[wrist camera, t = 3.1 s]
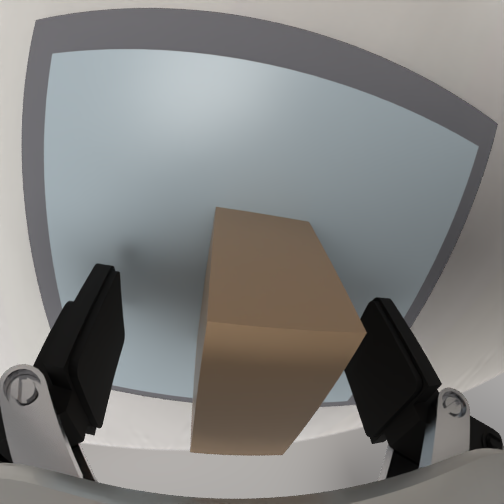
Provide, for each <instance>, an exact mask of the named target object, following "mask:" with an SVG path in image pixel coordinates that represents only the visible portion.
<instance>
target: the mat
mask: <svg viewBox="0 0 504 504" xmlns="http://www.w3.org/2000/svg"><path fill="white" fill-rule="evenodd" d="M105 49H148V50H168V51H182V52H192V53H202V54H210V55H217V56H224V57H231V58H237V59H243V60H249V61H254V62H259V63H264V64H269V65H273V66H278V67H282V68H286V69H290V70H294V71H298V72H302V73H306V74H309V75H313V76H317V77H320V78H323V79H327V80H330V81H333V82H336V83H339V84H343V85H346V86H349V87H351V88H354V89H357V90H360V91H363V92H366V93H368V94H371V95H374V96H376V97H379V98H381V99H384V100H386V101H389V102H391V103H394V104H396V105H398V106H401V107H403V108H405V109H407V110H410V111H412V112H414V113H416V114H418V115H421V116H423V117H425V118H427V119H429V120H431V121H433V122H435V123H437V124H439V125H441V126H443V127H445V128H447V129H449V130H450V131H452V132H454V133H456V134H458V135H460V136H461V137H463V138H465V139H467V140H469V141H470V142H472V143H474V144H475V145H477V146H479V147H478V151H477V154H476V157H475V160H474V164H473V167H472V170H471V173H470V176H469V179H468V182H467V185H466V187H465V190H464V193H463V196H462V198H461V201H460V203H459V206H458V209H457V211H456V214H455V216H454V219H453V221H452V223H451V226H450V228H449V230H448V233H447V235H446V237H445V239H444V242H443V244H442V246H441V248H440V250H439V253H438V255H437V257H436V259H435V261H434V263H433V265H432V267H431V269H430V271H429V273H428V275H427V277H426V279H425V281H424V283H423V285H422V286H421V288H420V290H419V292H418V294H417V296H416V298H415V299H414V301H413V303H412V305H411V306H410V308H409V310H408V312H407V313H406V315H405V317H404V320H405V321H406V323H407V325H408V326H409V328H410V327H411V326H412V324H413V323H414V321H415V319H416V318H417V316H418V314H419V313H420V311H421V309H422V308H423V306H424V304H425V302H426V301H427V299H428V297H429V295H430V294H431V292H432V290H433V288H434V286H435V285H436V283H437V281H438V279H439V277H440V275H441V273H442V271H443V269H444V267H445V265H446V263H447V261H448V259H449V257H450V255H451V253H452V251H453V249H454V247H455V244H456V242H457V240H458V238H459V236H460V233H461V231H462V229H463V226H464V224H465V222H466V219H467V217H468V214H469V212H470V209H471V207H472V204H473V202H474V199H475V196H476V194H477V191H478V188H479V185H480V183H481V180H482V177H483V174H484V171H485V168H486V164H487V161H488V158H489V155H490V151H491V148H492V144H493V141H494V137H495V133H496V129H497V125H498V124H497V123H496V122H495V121H493V120H492V119H490V118H489V117H488V116H486V115H485V114H483V113H482V112H481V111H479V110H478V109H476V108H475V107H473V106H472V105H470V104H469V103H467V102H466V101H464V100H462V99H461V98H459V97H458V96H456V95H454V94H453V93H451V92H449V91H448V90H446V89H444V88H443V87H441V86H439V85H437V84H436V83H434V82H432V81H430V80H428V79H426V78H424V77H423V76H421V75H419V74H417V73H415V72H413V71H411V70H409V69H407V68H405V67H403V66H401V65H398V64H396V63H394V62H392V61H390V60H387V59H385V58H383V57H381V56H378V55H376V54H373V53H371V52H369V51H366V50H364V49H361V48H358V47H356V46H353V45H350V44H348V43H345V42H342V41H339V40H336V39H333V38H330V37H327V36H324V35H321V34H317V33H314V32H311V31H307V30H303V29H300V28H296V27H292V26H288V25H284V24H280V23H275V22H271V21H266V20H261V19H256V18H251V17H245V16H239V15H233V14H226V13H218V12H209V11H199V10H187V9H168V8H129V9H110V10H98V11H88V12H80V13H73V14H66V15H60V16H54V17H49V18H44V19H39V20H36V22H35V27H34V31H33V36H32V41H31V46H30V52H29V58H28V64H27V71H26V79H25V88H24V99H23V115H22V174H23V190H24V201H25V211H26V219H27V227H28V234H29V240H30V246H31V252H32V257H33V262H34V267H35V272H36V276H37V281H38V285H39V289H40V293H41V297H42V301H43V305H44V308H45V312H46V316H47V319H48V322H49V326H50V329H52V327H53V325H54V323H55V322H56V320H57V318H58V316H59V314H60V312H61V311H62V305H61V301H60V296H59V292H58V287H57V282H56V277H55V271H54V266H53V260H52V253H51V246H50V239H49V231H48V222H47V212H46V199H45V181H44V128H45V111H46V98H47V88H48V80H49V72H50V65H51V59H52V54H54V53H62V52H73V51H86V50H105ZM111 390H115V391H120V392H125V393H131V394H136V395H142V396H148V397H154V398H160V399H167V400H174V401H182V402H191V403H193V398H188V397H180V396H172V395H165V394H158V393H152V392H146V391H140V390H134V389H129V388H124V387H119V386H114V385H112V388H111ZM355 404H356V403H355V400H354V397H353V394H352V396H351V397H350V398H349V400H348V401H341V402H322V404H321V405H320V407H327V406H343V405H355Z"/></svg>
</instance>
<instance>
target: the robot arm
mask: <svg viewBox="0 0 504 504" xmlns="http://www.w3.org/2000/svg"><path fill="white" fill-rule="evenodd" d="M360 320H361V322H362V324H363V326H364V328H365V330H366V332H367V333H366V335H365V337H364V338H363V340H362V342H361V344H360V345H359V347H358V349H357V350H356V352H355V354H354V355H353V357H352V358H351V360H350V362H349V363H348V365H347V366H346V368H345V370H344V371H345V374H346V377H347V380H348V383H349V386H350V388H351V391H352V394H353V397H354V400H355V403H356V406H357V409H358V412H359V415H360V418H361V421H362V424H363V427H364V430H365V433H366V435H367V436H368V437H370V439H371V442H372V444H375V443H380V442H384V441H386V440H387V441H388V448H387V451H386V455H385V458H384V462H383V465H382V469H381V472H380V475H379V478H378V481H376V482H372V483H368V484H364V485H359V486H354V487H350V488H345V489H339V490H333V491H328V492H321V493H315V494H307V495H298V496H288V497H275V498H256V499H214V498H195V497H183V496H173V495H165V494H157V493H150V492H144V491H137V490H132V489H126V488H121V487H116V486H111V485H107V484H102V483H98V482H97V480H96V478H95V476H94V473H93V471H92V469H91V467H90V465H89V463H88V460H87V459H86V456H85V454H84V451H83V449H82V447H81V444H80V443H81V442H83V441H84V438H85V434H86V433H87V434H90V435H95V431H96V427H97V428H101V427H102V425H103V421H104V416H105V412H106V408H107V403H108V399H109V395H110V391H111V388H112V384H113V380H114V376H115V373H116V369H117V365H118V362H119V358H120V355H121V351H122V348H123V345H124V340H125V329H124V319H123V308H122V295H121V279H120V272H119V271H115V268H114V266H112V265H105V264H99V263H97V264H95V266H94V267H93V269H92V271H91V272H90V274H89V276H88V277H87V279H86V281H85V283H84V284H83V286H82V288H81V289H80V291H79V293H78V295H77V297H76V298H75V300H74V301H68V302H67V303H66V304H65V305H64V307H63V309H62V311H61V312H60V314H59V316H58V318H57V320H56V322H55V323H54V325H53V327H52V329H51V331H50V333H49V335H48V337H47V339H46V341H45V343H44V345H43V347H42V349H41V351H40V353H39V355H38V357H37V359H36V361H35V363H34V365H33V366H31V365H27V364H21V365H16V366H13V367H11V368H9V369H8V370H7V371H5V373H4V374H3V375H2V377H1V378H0V504H504V446H503V443H502V439H501V436H500V435H499V433H498V432H496V431H495V430H494V429H492V428H490V427H489V426H487V425H485V424H484V423H482V422H480V421H478V420H476V419H475V418H473V417H471V416H470V409H469V404H468V402H467V400H466V398H465V397H464V396H463V394H461V393H460V392H459V391H457V390H456V389H453V388H445V389H443V390H441V391H440V392H438V390H437V389H438V388H439V387H440V386H441V384H442V383H441V381H440V380H439V378H438V376H437V374H436V372H435V371H434V369H433V367H432V365H431V363H430V362H429V360H428V358H427V356H426V355H425V353H424V351H423V350H422V348H421V346H420V344H419V343H418V341H417V339H416V338H415V336H414V334H413V333H412V331H411V330H410V328H409V326H408V325H407V323H406V321H405V320H404V318H403V317H402V315H401V313H400V312H399V310H398V309H397V307H396V306H395V304H394V302H393V301H392V300H391V299H390V298H380V297H376V298H374V299H373V300H372V301H370V302H369V303H368V305H367V307H366V308H365V310H364V312H363V314H362V316H361V318H360Z"/></svg>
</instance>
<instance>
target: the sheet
mask: <svg viewBox="0 0 504 504" xmlns="http://www.w3.org/2000/svg"><path fill="white" fill-rule="evenodd" d="M478 147H479V146H477V145H475V144H474V143H472V142H470V141H469V140H467V139H465V138H463V137H461V136H460V135H458V134H456V133H454V132H452V131H450V130H449V129H447V128H445V127H443V126H441V125H439V124H437V123H435V122H433V121H431V120H429V119H427V118H425V117H423V116H421V115H418V114H416V113H414V112H412V111H410V110H407V109H405V108H403V107H401V106H398V105H396V104H394V103H391V102H389V101H386V100H384V99H381V98H379V97H376V96H374V95H371V94H368V93H366V92H363V91H360V90H357V89H354V88H351V87H349V86H346V85H343V84H339V83H336V82H333V81H330V80H327V79H323V78H320V77H317V76H313V75H309V74H306V73H302V72H298V71H294V70H290V69H286V68H282V67H278V66H273V65H269V64H264V63H259V62H254V61H249V60H243V59H237V58H231V57H224V56H217V55H210V54H202V53H192V52H182V51H168V50H148V49H105V50H86V51H73V52H62V53H54V54H52V59H51V65H50V72H49V80H48V88H47V98H46V111H45V128H44V181H45V199H46V212H47V222H48V231H49V239H50V246H51V253H52V260H53V266H54V271H55V277H56V282H57V287H58V292H59V296H60V301H61V305H62V309H63V307H64V305H65V304H66V303H67V302H68V301H74V300H75V298H76V297H77V295H78V293H79V291H80V289H81V288H82V286H83V284H84V283H85V281H86V279H87V277H88V276H89V274H90V272H91V271H92V269H93V267H94V266H95V264H97V263H99V264H105V265H112V266H114V268H115V271H119V272H120V279H121V295H122V308H123V319H124V329H125V340H124V345H123V348H122V351H121V355H120V358H119V362H118V365H117V369H116V373H115V376H114V380H113V384H112V385H114V386H119V387H124V388H129V389H134V390H140V391H146V392H152V393H158V394H165V395H172V396H180V397H188V398H193V404H192V423H191V447H190V452H194V453H204V454H220V455H283V454H284V453H285V451H286V450H287V449H288V448H289V446H290V445H291V444H292V443H293V441H294V440H295V439H296V438H297V436H298V435H299V434H300V432H301V431H302V430H303V428H304V427H305V426H306V424H307V423H308V422H309V420H310V419H311V418H312V416H313V415H314V414H315V412H316V411H317V409H318V408H319V407H320V405H321V404H322V402H341V401H348V400H349V398H350V397H351V396H352V391H351V388H350V386H349V383H348V380H347V377H346V374H345V371H344V370H345V368H346V366H347V365H348V363H349V362H350V360H351V358H352V357H353V355H354V354H355V352H356V350H357V349H358V347H359V345H360V344H361V342H362V340H363V338H364V337H365V335H366V333H367V332H366V330H365V328H364V326H363V324H362V322H361V320H360V318H361V316H362V314H363V312H364V310H365V308H366V307H367V305H368V303H369V302H370V301H372V300H373V299H374V298H376V297H380V298H390V299H391V300H392V301H393V302H394V304H395V306H396V307H397V309H398V310H399V312H400V313H401V315H402V317H403V318H404V317H405V315H406V313H407V312H408V310H409V308H410V306H411V305H412V303H413V301H414V299H415V298H416V296H417V294H418V292H419V290H420V288H421V286H422V285H423V283H424V281H425V279H426V277H427V275H428V273H429V271H430V269H431V267H432V265H433V263H434V261H435V259H436V257H437V255H438V253H439V250H440V248H441V246H442V244H443V242H444V239H445V237H446V235H447V233H448V230H449V228H450V226H451V223H452V221H453V219H454V216H455V214H456V211H457V209H458V206H459V203H460V201H461V198H462V196H463V193H464V190H465V187H466V185H467V182H468V179H469V176H470V173H471V170H472V167H473V164H474V160H475V157H476V154H477V151H478Z"/></svg>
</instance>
